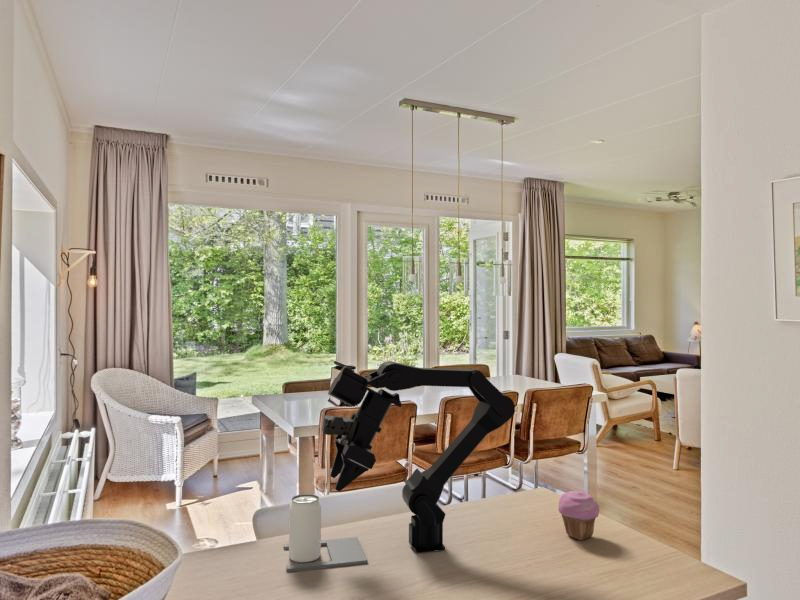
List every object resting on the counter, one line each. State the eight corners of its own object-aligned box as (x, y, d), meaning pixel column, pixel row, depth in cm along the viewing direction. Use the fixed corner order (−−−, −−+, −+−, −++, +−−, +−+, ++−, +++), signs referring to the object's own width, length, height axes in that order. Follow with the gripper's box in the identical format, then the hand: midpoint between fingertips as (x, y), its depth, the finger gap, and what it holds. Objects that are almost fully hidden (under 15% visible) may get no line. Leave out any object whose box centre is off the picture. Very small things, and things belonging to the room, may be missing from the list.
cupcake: (583, 547, 121) (583, 501, 121) (550, 535, 128) (550, 490, 128) (606, 537, 126) (606, 492, 127) (573, 525, 133) (573, 483, 133)
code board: (357, 539, 124) (357, 536, 125) (367, 563, 113) (367, 560, 113) (283, 546, 120) (283, 543, 120) (286, 572, 109) (286, 568, 109)
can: (314, 565, 112) (314, 504, 112) (283, 562, 113) (284, 502, 113) (325, 551, 118) (325, 494, 118) (296, 548, 120) (296, 492, 120)
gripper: (332, 392, 127) (298, 455, 125) (342, 406, 108) (303, 480, 106) (374, 414, 129) (341, 477, 127) (392, 431, 111) (354, 504, 109)
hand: (334, 483), depth 117 cm, fingers open, 9 cm apart
